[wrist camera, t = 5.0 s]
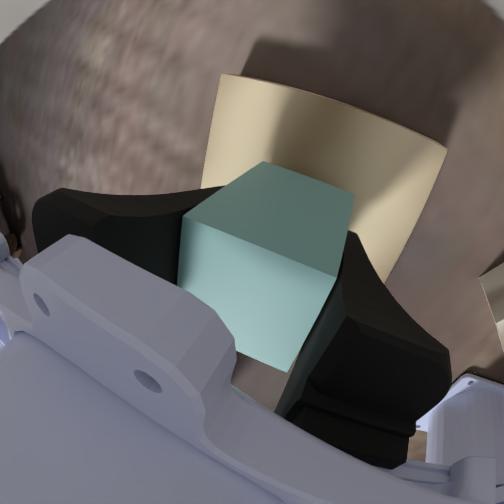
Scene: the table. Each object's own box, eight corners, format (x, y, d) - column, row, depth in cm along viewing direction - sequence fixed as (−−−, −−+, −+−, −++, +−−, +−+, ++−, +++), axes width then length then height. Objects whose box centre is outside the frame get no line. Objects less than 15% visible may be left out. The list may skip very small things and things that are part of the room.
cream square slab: (437, 142, 11) (447, 149, 10) (361, 302, 17) (358, 325, 15) (239, 75, 13) (221, 73, 11) (208, 240, 19) (191, 255, 17)
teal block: (354, 194, 11) (336, 278, 7) (322, 271, 14) (286, 372, 9) (262, 160, 12) (182, 215, 7) (244, 239, 14) (175, 320, 10)
